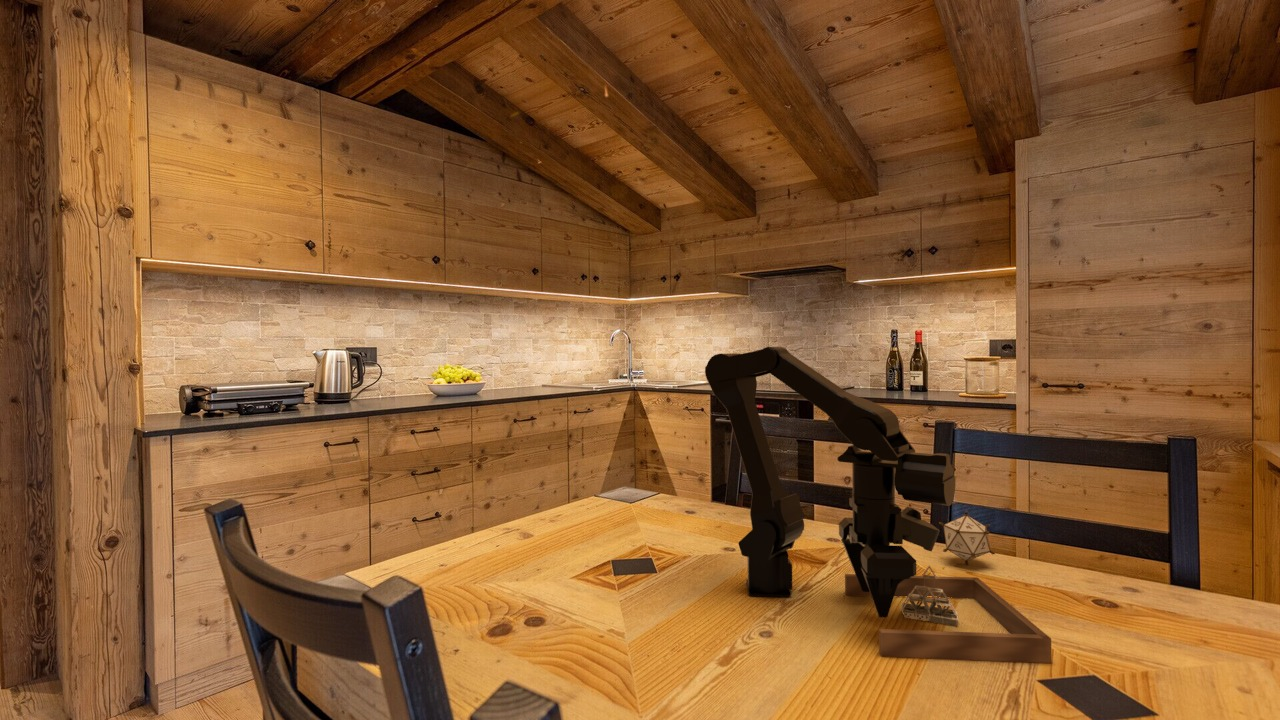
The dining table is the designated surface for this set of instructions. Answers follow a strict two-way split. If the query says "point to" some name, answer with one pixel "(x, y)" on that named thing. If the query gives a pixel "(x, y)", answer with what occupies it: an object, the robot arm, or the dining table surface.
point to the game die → (966, 538)
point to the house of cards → (930, 611)
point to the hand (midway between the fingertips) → (874, 603)
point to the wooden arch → (1013, 647)
